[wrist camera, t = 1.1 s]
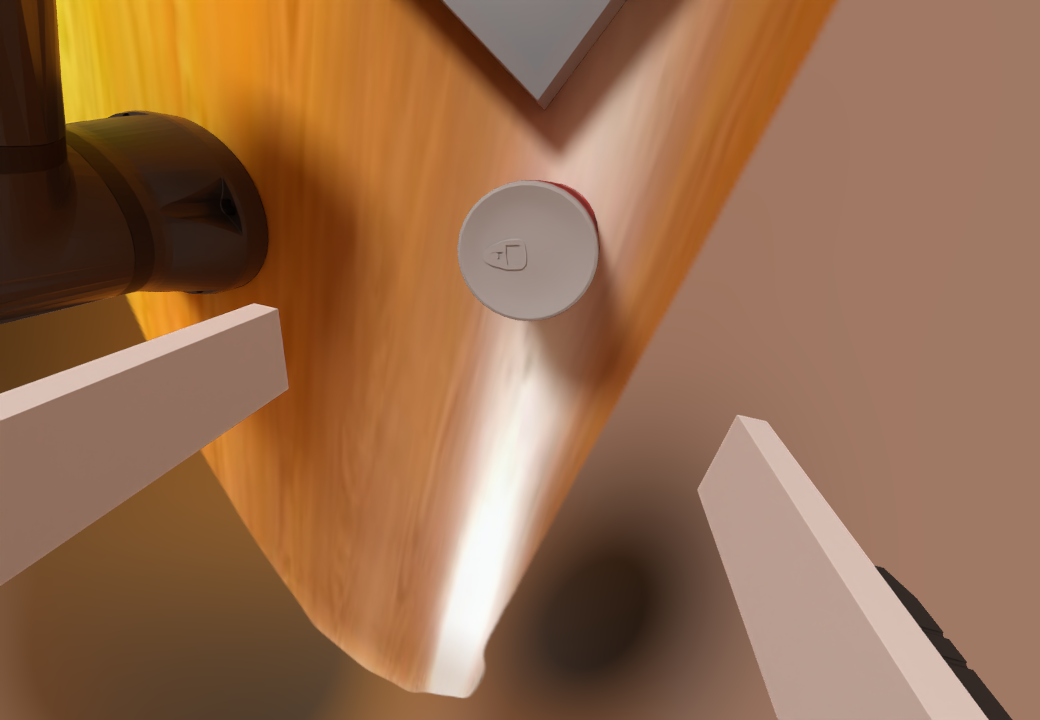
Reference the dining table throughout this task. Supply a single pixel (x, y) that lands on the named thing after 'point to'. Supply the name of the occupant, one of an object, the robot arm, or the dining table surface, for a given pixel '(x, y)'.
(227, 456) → the dining table surface
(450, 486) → the dining table surface
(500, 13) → the tray
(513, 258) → the canned food
